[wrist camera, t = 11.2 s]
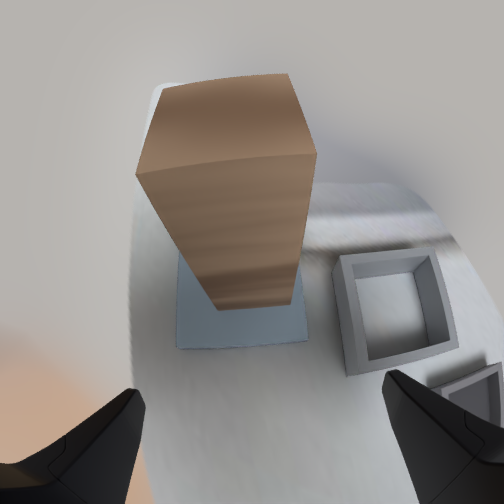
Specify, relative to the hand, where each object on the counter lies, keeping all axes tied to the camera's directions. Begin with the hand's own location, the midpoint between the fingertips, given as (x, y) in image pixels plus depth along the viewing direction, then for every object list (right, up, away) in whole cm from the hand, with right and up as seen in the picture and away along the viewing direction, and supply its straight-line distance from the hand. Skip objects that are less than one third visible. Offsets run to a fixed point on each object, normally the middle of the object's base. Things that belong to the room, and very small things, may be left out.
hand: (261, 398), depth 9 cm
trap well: (+16, -8, +5) cm, 19 cm away
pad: (-1, +3, +12) cm, 13 cm away
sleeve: (+10, 0, +10) cm, 14 cm away
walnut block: (0, +3, +12) cm, 12 cm away
